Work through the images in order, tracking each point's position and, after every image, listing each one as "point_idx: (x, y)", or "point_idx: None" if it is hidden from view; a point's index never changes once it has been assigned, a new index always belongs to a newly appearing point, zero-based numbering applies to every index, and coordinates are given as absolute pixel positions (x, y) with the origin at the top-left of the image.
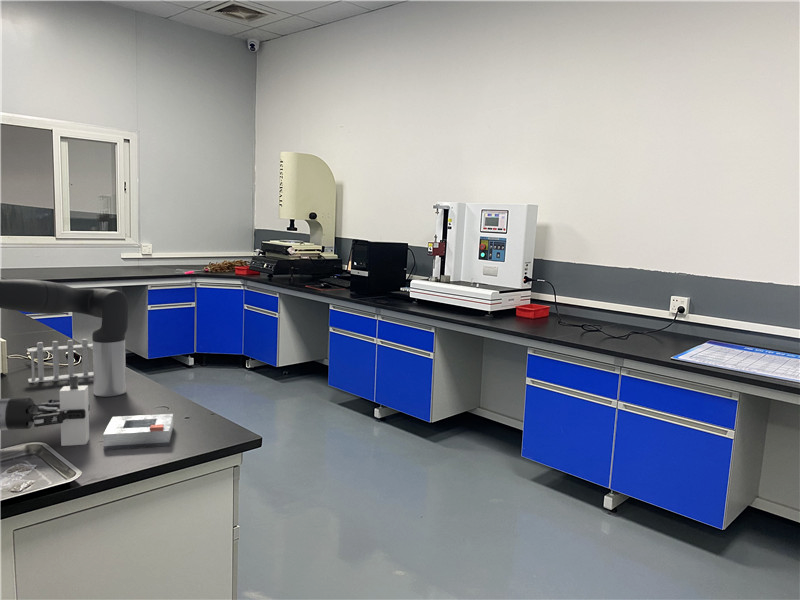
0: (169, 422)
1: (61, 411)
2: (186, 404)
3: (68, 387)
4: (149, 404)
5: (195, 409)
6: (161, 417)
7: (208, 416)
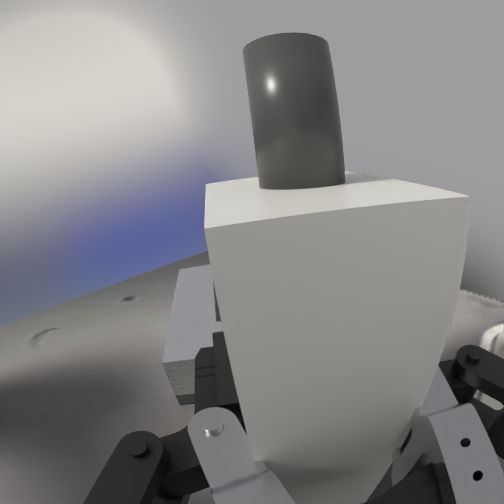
0: None
1: (441, 376)
2: (51, 311)
3: (282, 197)
4: (8, 356)
5: (87, 298)
6: (203, 275)
7: (136, 280)
